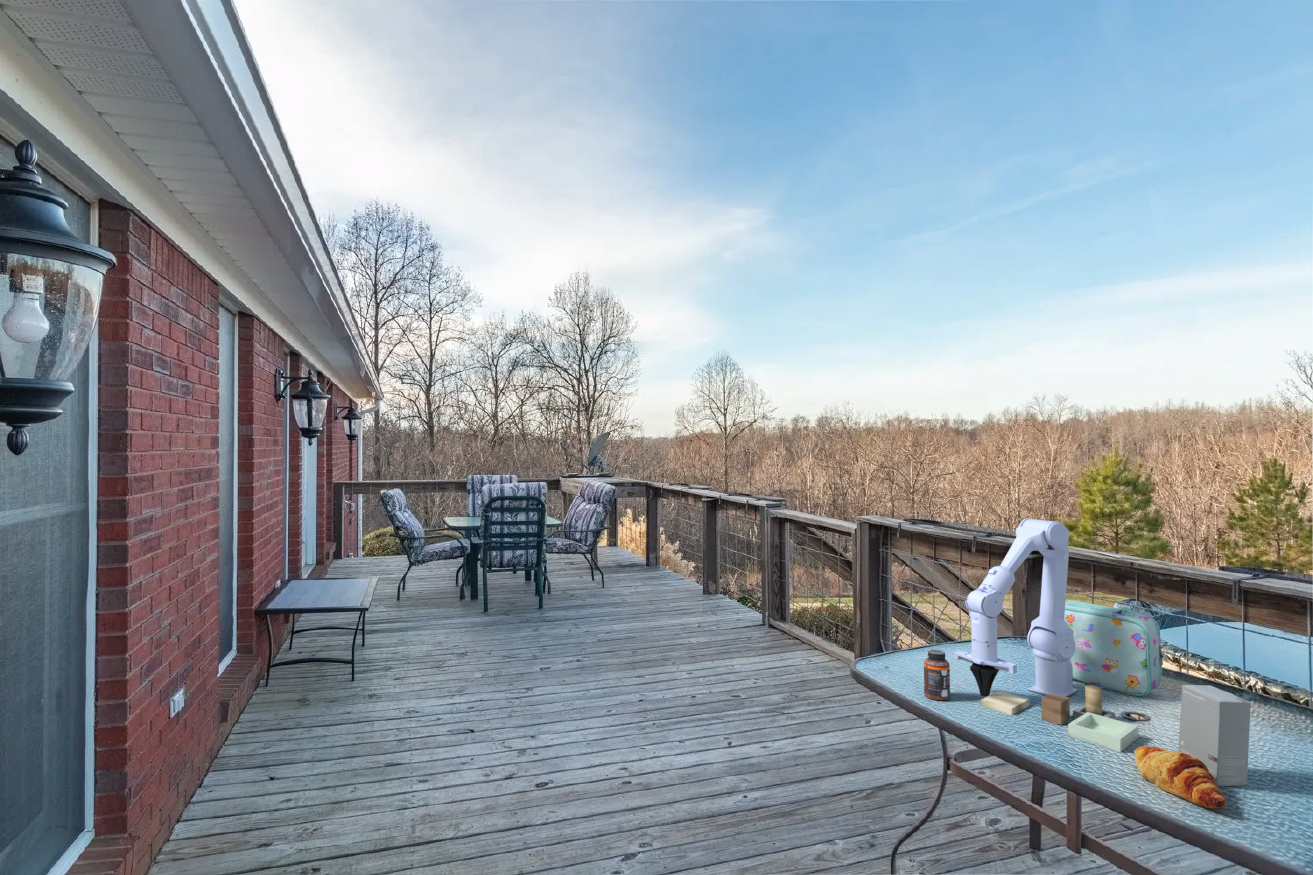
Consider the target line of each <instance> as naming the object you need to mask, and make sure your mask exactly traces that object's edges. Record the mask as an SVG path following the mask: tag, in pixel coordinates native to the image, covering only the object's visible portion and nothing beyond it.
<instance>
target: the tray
mask: <svg viewBox="0 0 1313 875" xmlns="http://www.w3.org/2000/svg"><path fill="white" fill-rule="evenodd" d="M1067 728H1068V729H1067V734H1068V737H1070V738H1073V739H1074V740H1075V739H1076V740H1078V741H1083V742H1086V743H1088V744H1092V745H1095V746H1099V747H1102V748H1104V749H1108V750H1112V751H1115V752H1118V753H1122V752H1123V751H1124V750H1125V749H1126V748H1128V747H1129V746H1131V745H1132V744H1133V743H1134V742H1136V741H1137V740H1138V739H1139V725H1137V724H1133V723H1130V722H1125V721H1122V720H1118V719H1116V718H1115V719H1111V718H1108V717H1104V716H1100V715H1097V714H1093V713H1089V712H1087V713H1085V714H1084V715H1082V716H1080V717H1079V718H1075V719H1074V720H1072V721H1071V722H1070V723H1068V724H1067Z"/></svg>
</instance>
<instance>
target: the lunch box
mask: <svg viewBox="0 0 1313 875" xmlns="http://www.w3.org/2000/svg"><path fill="white" fill-rule="evenodd" d="M1064 621H1065V622H1066V623H1067V624H1068V625H1069V626H1070V627H1071V628H1072V630H1073V631H1074V634H1073V637H1074V641H1075V645H1076V649H1075V653H1074V655H1073V656H1072V657H1071V658H1070V661H1071V663H1072V667H1073V680H1076V681H1079V682H1082V683H1085V684H1088V685H1091V686H1097V687H1100V688H1101V689H1106V690H1111V691H1116V692H1118V693H1121V694H1126V695H1130V696H1138V697H1139V696H1140V697H1142V696H1147V695H1149V694H1151V692H1152V691H1153V690H1156V689H1157V688H1158V686H1159V685H1160V682H1161V680H1162V674H1163V665H1164V662H1166V661H1168V658H1167V655H1166V654H1165V650H1163V646H1162V645H1161V629H1160V626H1159V624H1158V622H1157V621H1156V619H1154V618H1153V616H1151V615H1150V614H1147V613H1145V612H1142V611H1140V610H1139V611H1138V610H1133V609H1129V608H1127V607H1126V606H1125V607H1121V608H1120V607H1111V606H1104V605H1100V604H1094V603H1088V602H1083V601H1079V600H1073V599H1072V600H1066V601H1065V616H1064ZM1048 630H1049V629H1048ZM1051 631H1052V630H1051ZM1163 661H1164V662H1163Z"/></svg>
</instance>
